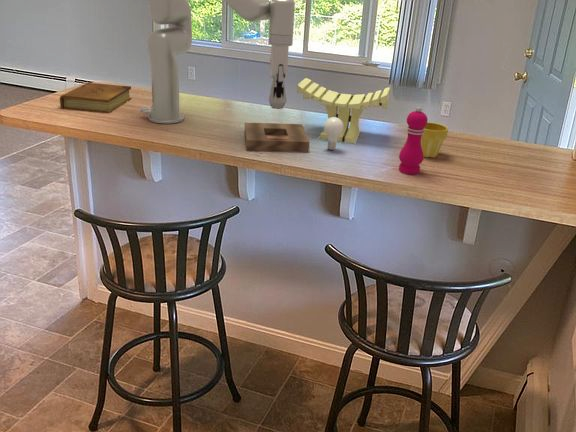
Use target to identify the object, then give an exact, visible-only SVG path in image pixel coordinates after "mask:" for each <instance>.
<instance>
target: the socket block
mask: <svg viewBox="0 0 576 432" xmlns="http://www.w3.org/2000/svg"><path fill="white" fill-rule="evenodd" d="M244 141H245V149H246V151H247V152H252V151H253V152H279V153H281V152H282V153H287V152H288V153H309V152H310V151H309V150H310V140H309V138H308V135H307V133H306V130H305V127H304V126H303V124H302V123H277V122H276V123H275V122H274V123H273V122H244Z"/></svg>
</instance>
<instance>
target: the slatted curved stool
mask: <svg viewBox="0 0 576 432" xmlns="http://www.w3.org/2000/svg"><path fill="white" fill-rule="evenodd" d="M390 92H391V87H390V86H389V87H385V88H384V89H383V91H382V90H381V89H380V90H376V91H375V93H374V92H368V93H367V95H366V93H363V94H354V95H353V94H350V93H349V94H348V93H339V92H337V91H333V90H330V89H328V90H327V88H326V87H324V86H320V84H318V83H316V82H313V80H312V79H311V78H308V77H305V78H304V79H303V80H301V81H300V82H298V84H297V87H296V93H297V94H302V96H303V97H302V98H303V99H302V100H309V99H310V100H312V101H313V102H319V103H320V105H322V106H324V105H325V109H326V114H327V119H329V118H331V117H337V118H339V119H340V120H341V121H342V122H343V131H342V133H341V134H340V135H339V137H338V140H337V141H338V143H342V142H345V144H352V143H355V142H356V143H357V141H358V139H359V137H358V136H360V135H361V132H360V126H359V125H360V123H359V122H360V119H361V115H362V113H363V111H364V109H365V110H366V109H368V108H371V107H372V106H373V107H375V108H379V107H380V106H381V109H386V110H387V109H388V106H389V100H390ZM359 134H360V135H359ZM357 138H358V139H357ZM317 140H321V141H328V139H327V135H326V133H325V131H324V129H323V131H322V132H321V133H320V135H319V136H318V137H317ZM356 140H357V141H356ZM337 141H336V142H337ZM356 143H355V144H356Z"/></svg>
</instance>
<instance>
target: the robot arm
mask: <svg viewBox="0 0 576 432" xmlns="http://www.w3.org/2000/svg"><path fill="white" fill-rule="evenodd" d="M224 1H225V2H226V4H227V5H228V6H229V7H230V8H231V9H232V10H233V11H234V12H235V14H236V15H238V16H239V17H240V18H241V19H242V20H245V21H247V22H259V21H266V20H268V25H269V26H268V45H270V46H271V48H270V59H269V61H270V62H269V75H270V77H271V78H272V79H273V77H275V87H274V96H275V93H276V97H277V98H281V93H282V96H284V85H285V79H286V78H287V75H288V64H289V47H292V46H293V40H294V27H295V26H294V21H295V7H296V6H295V4H296V3H295V1H294V0H224ZM148 5H149V9H148V11H149V16H150V19H151V20H152V22H153V23H155V24H156V25H168V27H165V28H158V29H156V30H154V31H152V32H151V33H150V34H149V35H148V37H147V40H146V42H147V43H146V45H147V51H148V55H149V62H150V73H151V95H152V97H151V98H152V101H151V102H152V106H149V107H146V106H145V107H144V106H141V107H140V110H139V111H140V113H141V114H143V115H147V114H149V115H148V120H149V121H150V122H152V123H157V124H163V125H166V124H169V125H170V124H171V125H172V124H178V123H181V122H183V121H184V120H185V116H184V115H183V114H182V113H181V112H180V74H179V73H180V71H179V65H178V62H177V60H176V57H175V56H179V55H184V54H186V53H188V52H189V50H190V49H191V47H192V43H193V31H192V30H193V29H192V27H193V25H192V23H193V22H192V10H191V6H190V3H189V0H148ZM284 74H285V75H284ZM277 76H278V77H277ZM274 96H273V99H274Z"/></svg>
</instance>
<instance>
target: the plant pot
mask: <svg viewBox="0 0 576 432" xmlns="http://www.w3.org/2000/svg"><path fill="white" fill-rule="evenodd" d="M448 131H449V127H448V126H446V125H444V124H441V123H437V122H430V121H427V124H426V126H425V127H424V134H422V137H421V147H422V151H423V156H424V157H423V158H428V157H433V158H436V157H438V154H439V153H440V151H441V147H442V144H443V143H444V140H446V139H447V136H448Z"/></svg>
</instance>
